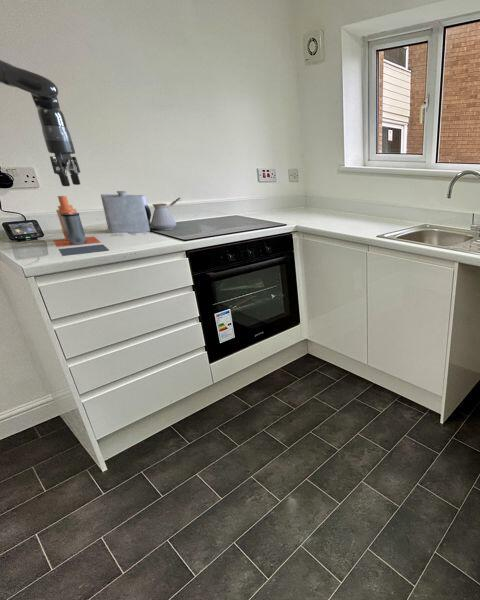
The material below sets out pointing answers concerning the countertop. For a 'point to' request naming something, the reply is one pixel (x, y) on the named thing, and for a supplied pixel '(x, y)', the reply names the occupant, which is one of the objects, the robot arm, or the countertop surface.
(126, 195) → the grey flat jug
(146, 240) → the countertop surface
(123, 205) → the hip flask
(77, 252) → the grey mat
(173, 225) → the coffee pot
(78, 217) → the steel canister
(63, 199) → the terracotta bottle
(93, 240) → the terracotta mat
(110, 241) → the countertop surface
